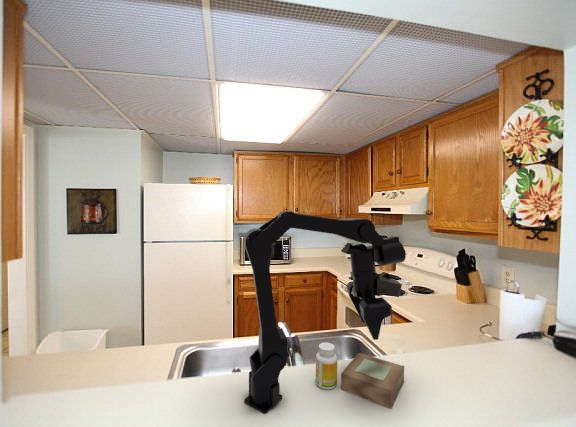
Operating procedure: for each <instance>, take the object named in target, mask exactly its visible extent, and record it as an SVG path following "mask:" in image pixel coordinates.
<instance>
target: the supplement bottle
mask: <svg viewBox="0 0 576 427" xmlns="http://www.w3.org/2000/svg"><path fill="white" fill-rule="evenodd" d="M335 352H336V347H335V345H334V344H333V343H331V342H321V343H319V345H318V352H317V353H316V355H315V384H316V386H317V387H319V388H320V389H323V390H333V389H335V387H337V385H338V383H337V382H338V356H337V354H336V353H335Z"/></svg>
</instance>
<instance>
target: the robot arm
mask: <svg viewBox="0 0 576 427" xmlns="http://www.w3.org/2000/svg"><path fill="white" fill-rule="evenodd" d="M290 229H298V230H301V231H303V230H304V231H310V232H317V233H324V234H331V235H336V236H338V237H341V238H344V239H347V240H350V241H354V242H356V243H357V242H358V243H359V244H352V243H350V242H346V244H345V245H344V247H343V248H342V249H341V250H340V251H341V253H343V254H346V255H349V256H350V266H351V271H350V273H349V274H350V277H351V278H352V280H351V281H349V282H348V283H347V284H346V293H347V294H348V297H349V299H350V301H351V303H352V305H353V306H354V309H355V311H356V312H357V314H358V316H359V319H360V320H361V322H362V323H363V324H365V326H366V327H367V330H368V331H369V334H370V336H371V338H372V339H373V340H375V341H377V340H379V337H380V332H381V328H382V323H383V321H384V319H385V318H389V317H390V316H393V307H392V305H391V304H390V303H389V302H388V301H387V300H386V299H385V298H384V297H382V296H383V294H386V295H391V296H394V297H396V298H399V297H400V295H401V294H400V293H401V291H402V287H403V283H401V282H399V281H398V280H396V279H394V278H392V277H391V274H390V273H388V272H385V271H382V272H381V273H380V274H379V273H377V271H376V264H378V265H379V266H380V267H383V266H390V265H395V264H401V263H403V262H405V260H406V257H407V256H406V255H407V254H406V252H407V251H406V250H405V247H404V245H403V244H402V243H401V241H400V236H397V235H396V236H395V235H393V236H387V237H384V238H383V237H382V236H381V235H380V233H379V232H377V230H376V226H375V224H374V223H373V221H372V220H371V219H367V218H366V219H365V218H359V217H358V218H355V217H353V218H351V217H350V218H349V217H348V218H331V217H323V216H319V215H310V214H306V213H305V214H304V213H300V212H299V213H298V212H293V211H292V210H282V211H280V212H279V213H278V214H277V215H275V216H274V217H273V218H271V219H270V220H268V221H266V222H265V223H263V224H262V225H260V227H256V228H255V227H253V228H250V229H249V230H247V232H246V233H245V234H244V236H243V246H244V248H245V251H246V255H247V256H248V260H249V263H250V265H251V269H252V275H253V284H254V290H255V297H256V299H255V300H256V305H257V311H258V312H257V313H258V319H259V332H258V343H257V346H258V348H257V349H256V350H255V351H254V352H252V354H250V356H249V363H250V364H249V365H250V371H249V372H248V396H247V397H245V398H244V400H243V401H244V404H246V405H248V406H250V407H252V408H254V409H256V410H257V411H260V412H262V413H263V414H267V413H268V412H269V411H271V409H272V408H273V407H275V406H276V405H277V404H278V403H279V402H280V401H281V400H282V399H283V395H282V394H281V390H280V389H281V388H280V386H281V385H280V382H279V377H280V374H281V371H283V370H284V368H285V367H286V366H287V363H288V358H289V357H290V356H291V355H290V353H289V351H288V337H287V336H286V334H285V332H284V329H283V327H281V328H279V329H278V323H277V322H278V321H277V317H276V316H277V315H276V309H275V300H274V294H273V293H274V292H273V287H272V286H273V285H272V278H271V272H270V270H271V269H270V268H271V260H272V252H273V251H272V250H273V249H272V246H273V244H275V243H276V242H277V241H279V240H280V239H281V237H282V236H283V235H285V234H286V233H288V232H287V231H289V230H290ZM366 244H370V245H367V246H366ZM376 296H377V297H376Z"/></svg>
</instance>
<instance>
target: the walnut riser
mask: <svg viewBox="0 0 576 427" xmlns="http://www.w3.org/2000/svg"><path fill="white" fill-rule="evenodd" d="M404 383H405V365H401V364H399V363H395V362H392V361H391V362H390V361H387V360H385V359H382V358H377V357H374V356H371V355H368V354H364V353H361V352H358V353H357V354H356V355H355V357H354V358H352V360H351V361H350V363H348V364H347V366H346V367H345V368H344V369H343V370H342V371H341V374H340V390H342V391H344V392H347V393H350V394H352V395H354V396H357V397H360V398H363V399H366V400H368V401H370V402H373V403H375V404H377V405H380V406H383V407H385V408H388V409H393V407H394V404H395V402H396V400H397V398H398V395H399V394H400V391H401V390H402V387H403V384H404Z"/></svg>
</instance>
